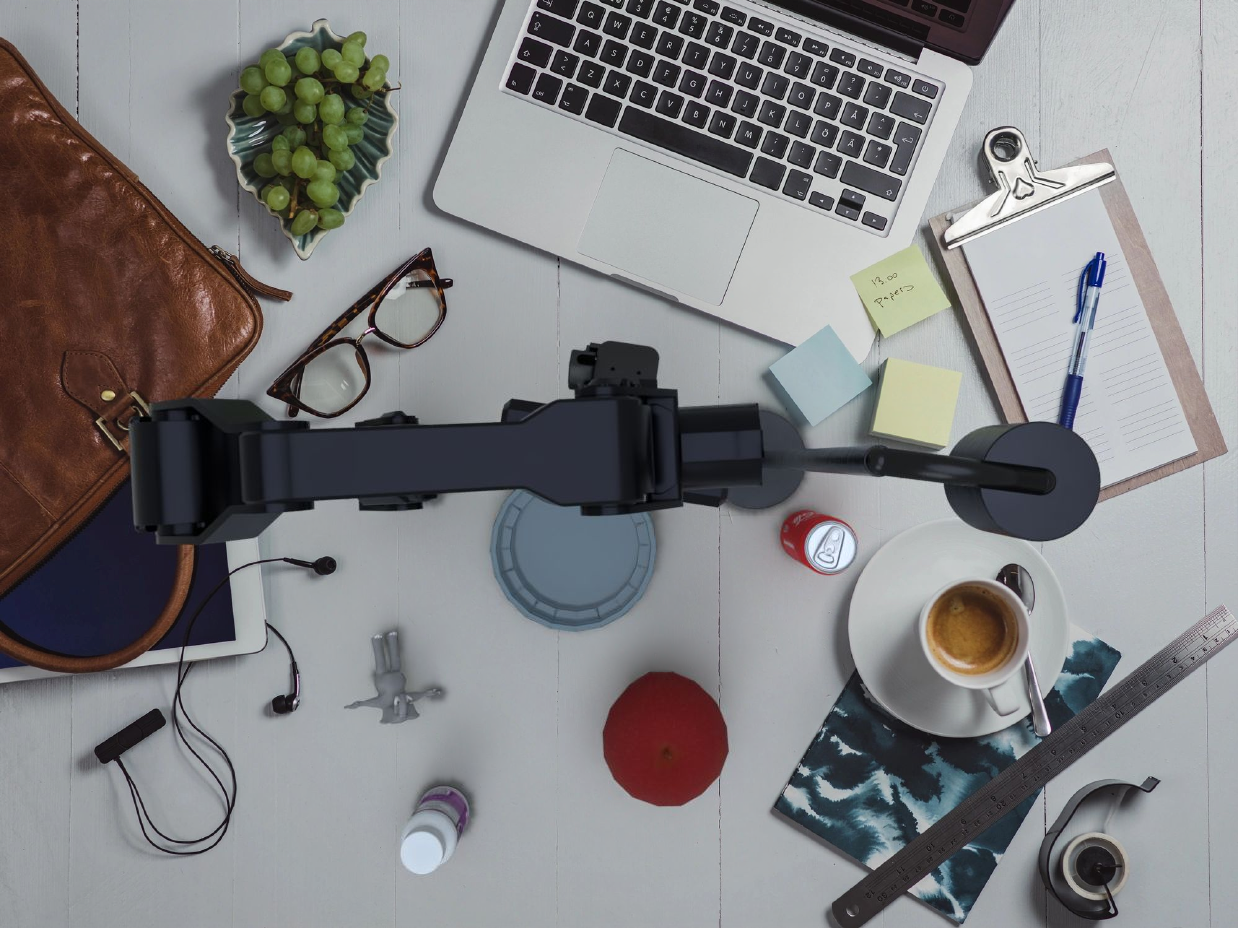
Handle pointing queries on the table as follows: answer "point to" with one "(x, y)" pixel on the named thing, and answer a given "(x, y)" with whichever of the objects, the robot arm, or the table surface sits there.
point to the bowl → (570, 562)
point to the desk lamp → (956, 474)
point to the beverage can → (819, 542)
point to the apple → (665, 739)
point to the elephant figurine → (391, 685)
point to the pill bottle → (434, 829)
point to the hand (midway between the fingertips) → (617, 453)
